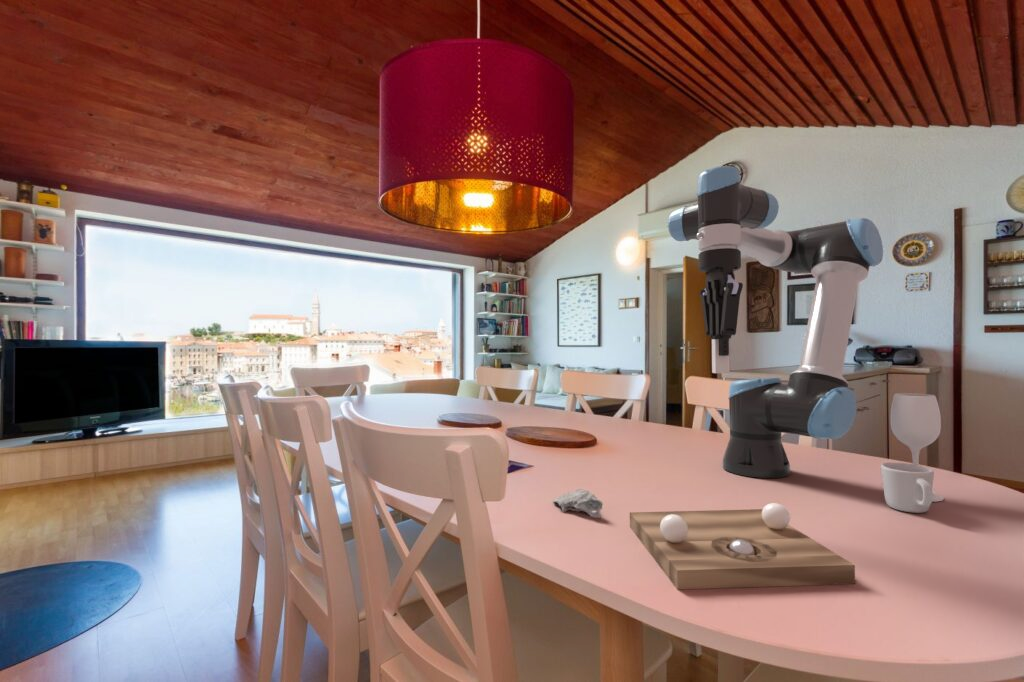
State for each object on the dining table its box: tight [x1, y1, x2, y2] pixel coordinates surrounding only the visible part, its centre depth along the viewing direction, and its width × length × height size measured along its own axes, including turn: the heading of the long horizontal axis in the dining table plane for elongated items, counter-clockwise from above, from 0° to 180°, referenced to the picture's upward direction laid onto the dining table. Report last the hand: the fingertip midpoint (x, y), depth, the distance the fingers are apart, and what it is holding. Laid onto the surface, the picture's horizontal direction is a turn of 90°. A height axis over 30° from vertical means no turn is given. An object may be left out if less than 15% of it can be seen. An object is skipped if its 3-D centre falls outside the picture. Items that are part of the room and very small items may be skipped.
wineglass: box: [889, 392, 945, 503], centre depth 102 cm, size 9×9×21 cm
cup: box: [880, 462, 935, 514], centre depth 92 cm, size 11×8×8 cm
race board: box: [629, 508, 856, 590], centre depth 75 cm, size 22×24×2 cm
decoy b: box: [660, 514, 688, 543], centre depth 73 cm, size 4×4×4 cm
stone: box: [552, 488, 603, 519], centre depth 95 cm, size 6×12×4 cm, turn 15°
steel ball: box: [729, 539, 755, 555], centre depth 71 cm, size 4×4×4 cm
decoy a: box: [762, 502, 791, 530], centre depth 78 cm, size 4×4×4 cm
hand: (720, 372), depth 94 cm, fingers closed
